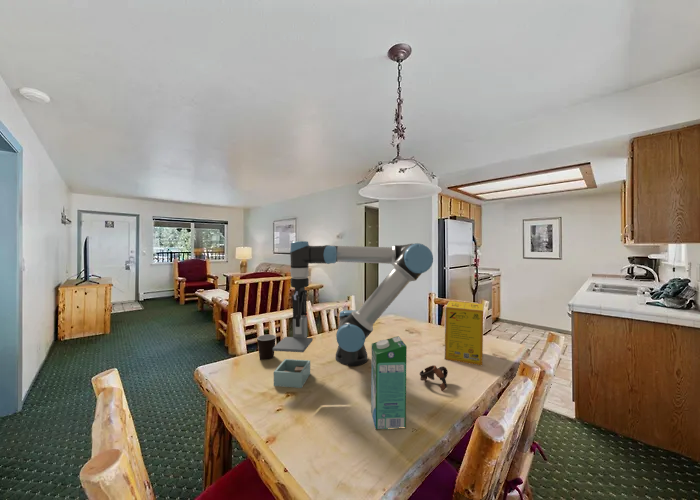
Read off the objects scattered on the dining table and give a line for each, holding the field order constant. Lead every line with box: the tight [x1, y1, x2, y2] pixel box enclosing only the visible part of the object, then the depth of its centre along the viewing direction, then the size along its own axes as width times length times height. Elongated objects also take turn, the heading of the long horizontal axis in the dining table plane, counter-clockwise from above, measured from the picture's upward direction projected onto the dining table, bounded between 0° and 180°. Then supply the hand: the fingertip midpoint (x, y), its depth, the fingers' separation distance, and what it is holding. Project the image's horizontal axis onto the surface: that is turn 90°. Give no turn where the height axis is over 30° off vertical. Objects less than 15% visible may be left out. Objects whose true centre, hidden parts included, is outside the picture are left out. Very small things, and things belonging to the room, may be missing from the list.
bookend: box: [273, 315, 314, 353], centre depth 115 cm, size 12×17×9 cm
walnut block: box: [295, 366, 304, 373], centre depth 116 cm, size 4×4×4 cm
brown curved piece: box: [419, 364, 448, 392], centre depth 112 cm, size 12×9×8 cm
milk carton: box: [370, 335, 408, 430], centre depth 88 cm, size 9×9×25 cm
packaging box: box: [444, 300, 484, 366], centre depth 139 cm, size 16×16×25 cm
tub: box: [273, 358, 311, 389], centre depth 113 cm, size 11×12×6 cm
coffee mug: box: [256, 334, 277, 361], centre depth 137 cm, size 12×9×10 cm
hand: (300, 332), depth 121 cm, fingers closed on bookend, 4 cm apart
